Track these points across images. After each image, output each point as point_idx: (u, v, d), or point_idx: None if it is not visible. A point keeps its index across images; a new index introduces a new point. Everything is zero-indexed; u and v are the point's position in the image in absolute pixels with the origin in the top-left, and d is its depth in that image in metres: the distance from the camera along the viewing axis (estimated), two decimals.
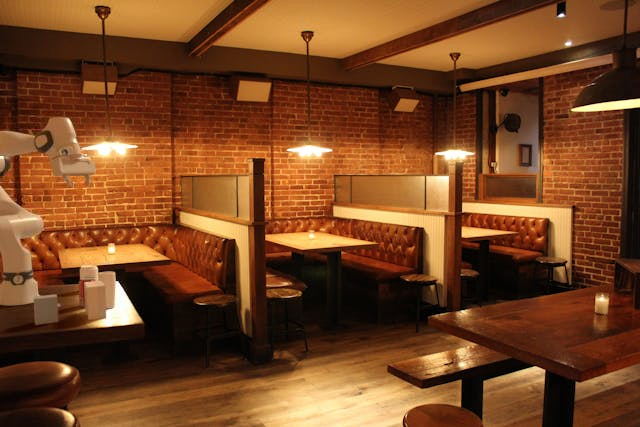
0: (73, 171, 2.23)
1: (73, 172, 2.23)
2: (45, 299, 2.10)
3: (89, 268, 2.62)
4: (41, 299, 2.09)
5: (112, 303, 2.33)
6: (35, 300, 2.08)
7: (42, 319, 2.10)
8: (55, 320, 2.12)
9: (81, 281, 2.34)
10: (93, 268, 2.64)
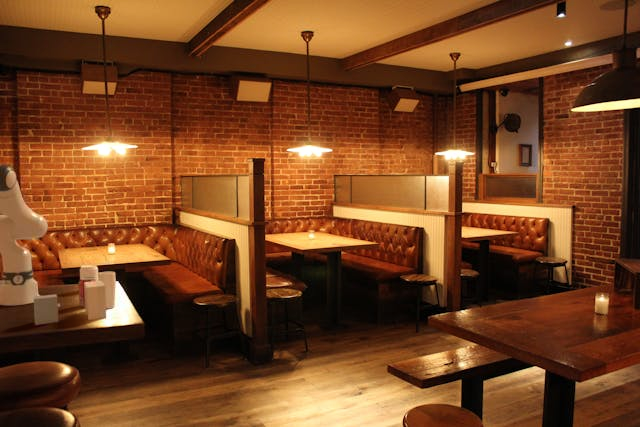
0: None
1: None
2: (45, 299, 2.10)
3: (89, 268, 2.62)
4: (41, 299, 2.09)
5: (112, 303, 2.33)
6: (35, 300, 2.08)
7: (42, 319, 2.10)
8: (55, 320, 2.12)
9: (81, 281, 2.34)
10: (93, 268, 2.64)
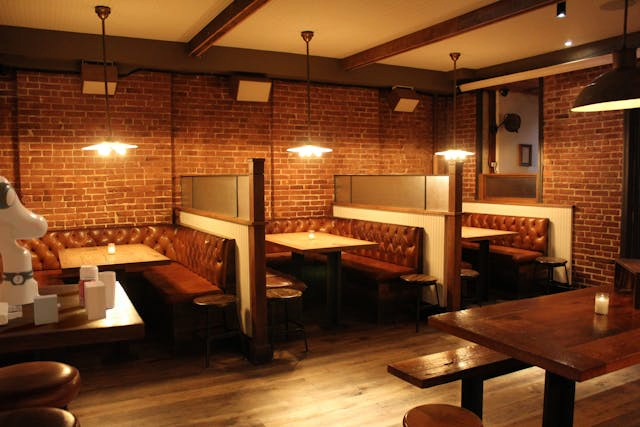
0: None
1: None
2: (45, 299, 2.10)
3: (89, 268, 2.62)
4: (41, 299, 2.09)
5: (112, 303, 2.33)
6: (35, 300, 2.08)
7: (42, 319, 2.10)
8: (55, 320, 2.12)
9: (81, 281, 2.34)
10: (93, 268, 2.64)
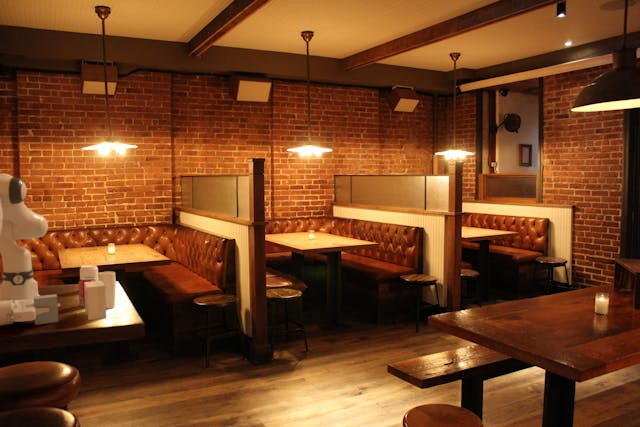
0: None
1: None
2: (45, 299, 2.10)
3: (89, 268, 2.62)
4: (41, 299, 2.09)
5: (112, 303, 2.33)
6: (35, 300, 2.08)
7: (42, 319, 2.10)
8: (55, 320, 2.12)
9: (81, 281, 2.34)
10: (93, 268, 2.64)
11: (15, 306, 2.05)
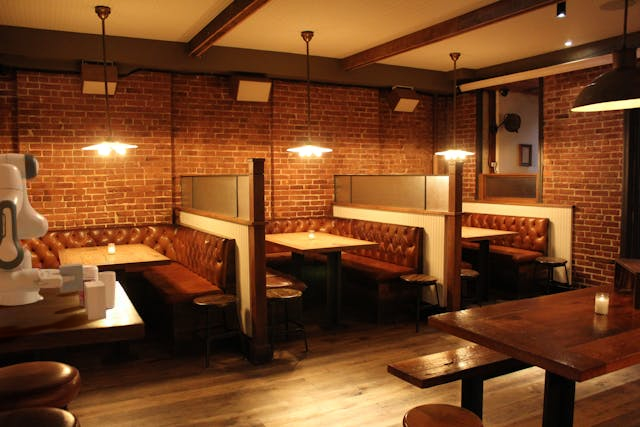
0: None
1: None
2: (71, 267, 2.14)
3: (89, 268, 2.62)
4: (67, 267, 2.13)
5: (112, 303, 2.33)
6: (61, 268, 2.12)
7: (67, 287, 2.14)
8: (80, 288, 2.16)
9: None
10: (93, 268, 2.64)
11: (42, 274, 2.09)
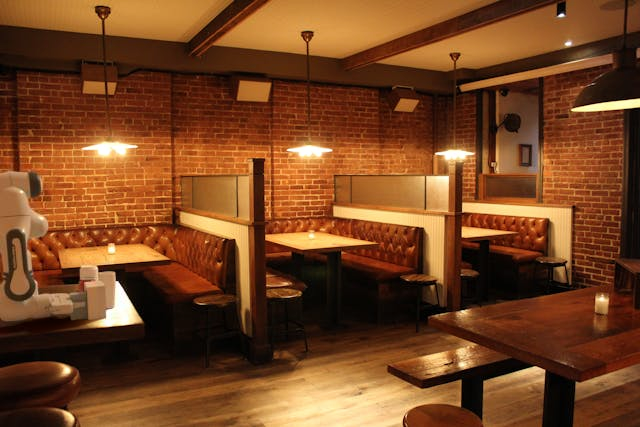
0: None
1: None
2: (81, 295, 2.16)
3: (89, 268, 2.62)
4: (77, 295, 2.15)
5: (112, 303, 2.33)
6: (71, 296, 2.15)
7: (78, 315, 2.16)
8: None
9: (81, 281, 2.34)
10: (93, 268, 2.64)
11: (53, 299, 2.12)
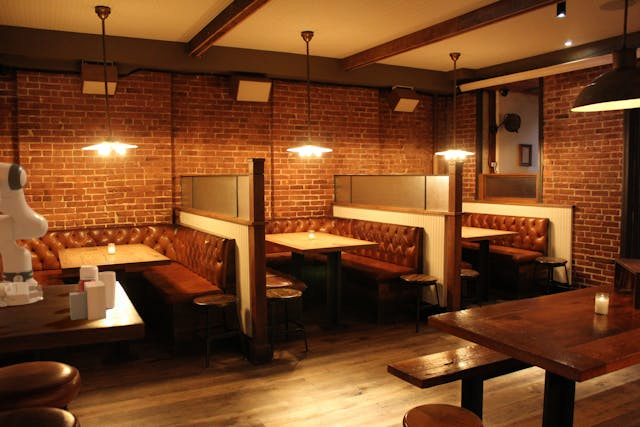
0: None
1: None
2: (81, 295, 2.16)
3: (89, 268, 2.62)
4: (77, 295, 2.16)
5: (112, 303, 2.33)
6: (71, 296, 2.15)
7: (78, 315, 2.16)
8: None
9: (81, 281, 2.34)
10: (93, 268, 2.64)
11: (9, 289, 2.06)
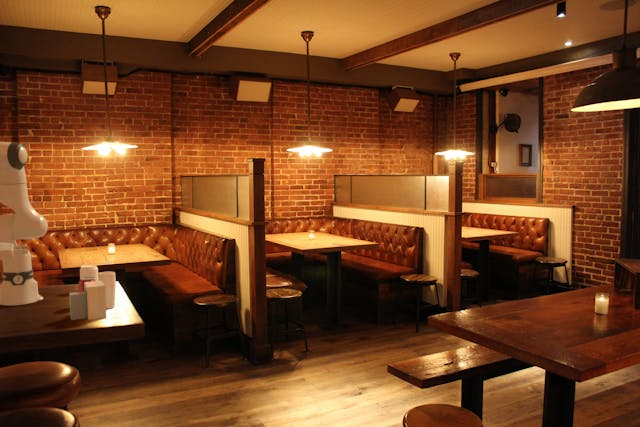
0: None
1: None
2: (81, 295, 2.16)
3: (89, 268, 2.62)
4: (77, 295, 2.16)
5: (112, 303, 2.33)
6: (71, 296, 2.15)
7: (78, 315, 2.16)
8: None
9: (81, 281, 2.34)
10: (93, 268, 2.64)
11: None
